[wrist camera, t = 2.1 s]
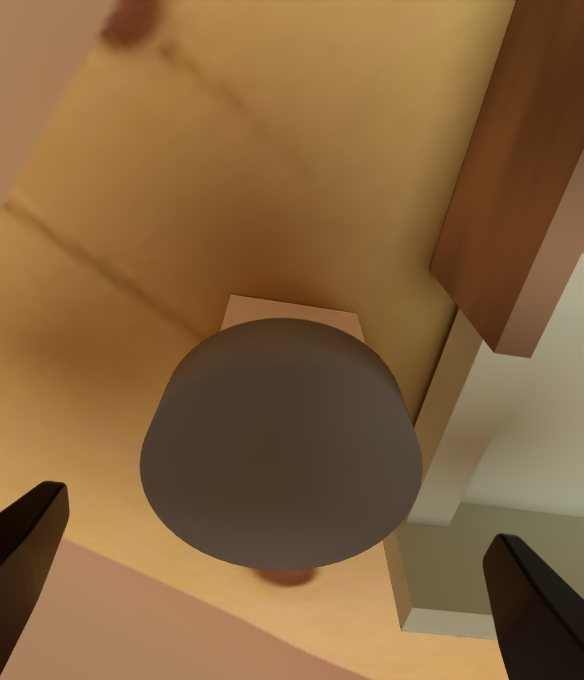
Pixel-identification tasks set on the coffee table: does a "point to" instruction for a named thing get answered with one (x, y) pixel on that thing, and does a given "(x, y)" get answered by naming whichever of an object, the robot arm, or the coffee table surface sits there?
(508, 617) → the robot arm
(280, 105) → the coffee table surface
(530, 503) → the tray
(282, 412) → the cylinder
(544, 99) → the holder
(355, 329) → the block
